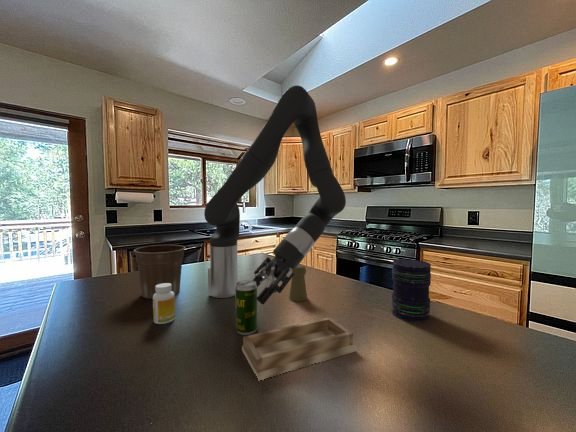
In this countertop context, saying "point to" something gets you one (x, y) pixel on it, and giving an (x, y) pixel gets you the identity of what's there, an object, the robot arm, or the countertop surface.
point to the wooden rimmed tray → (296, 346)
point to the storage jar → (411, 290)
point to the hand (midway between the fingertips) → (253, 296)
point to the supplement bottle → (163, 304)
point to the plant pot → (159, 267)
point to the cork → (298, 284)
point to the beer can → (246, 307)
